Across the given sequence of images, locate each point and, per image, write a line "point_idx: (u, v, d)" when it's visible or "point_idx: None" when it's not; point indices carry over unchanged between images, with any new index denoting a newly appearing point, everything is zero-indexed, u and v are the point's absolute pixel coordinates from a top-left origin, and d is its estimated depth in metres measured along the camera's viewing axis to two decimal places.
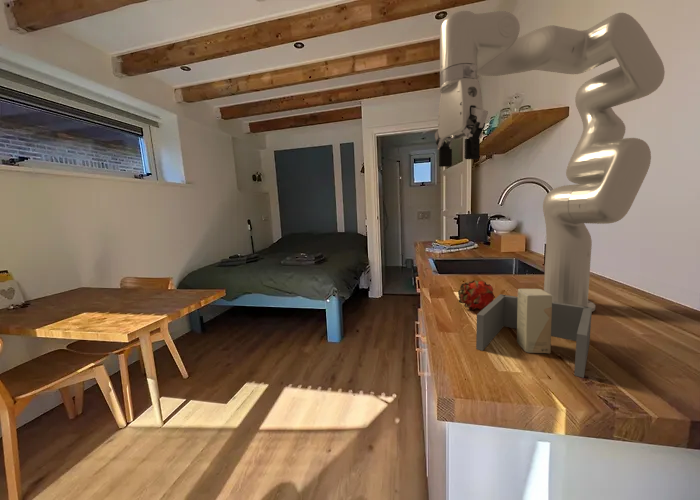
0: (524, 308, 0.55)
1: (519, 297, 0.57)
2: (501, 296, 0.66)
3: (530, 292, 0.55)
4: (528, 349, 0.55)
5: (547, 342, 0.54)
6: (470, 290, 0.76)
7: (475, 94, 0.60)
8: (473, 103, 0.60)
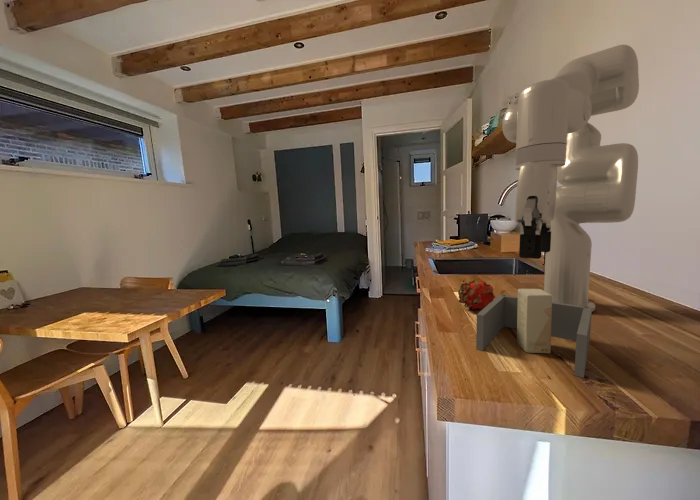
0: (524, 308, 0.55)
1: (519, 297, 0.57)
2: (501, 296, 0.66)
3: (530, 292, 0.55)
4: (528, 349, 0.55)
5: (547, 342, 0.54)
6: (470, 290, 0.76)
7: None
8: None
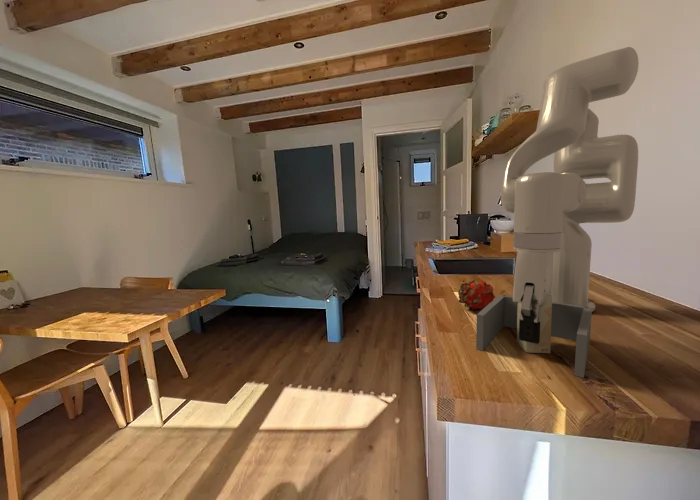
0: None
1: None
2: (501, 296, 0.66)
3: None
4: (528, 349, 0.55)
5: (547, 342, 0.54)
6: (470, 290, 0.76)
7: None
8: None
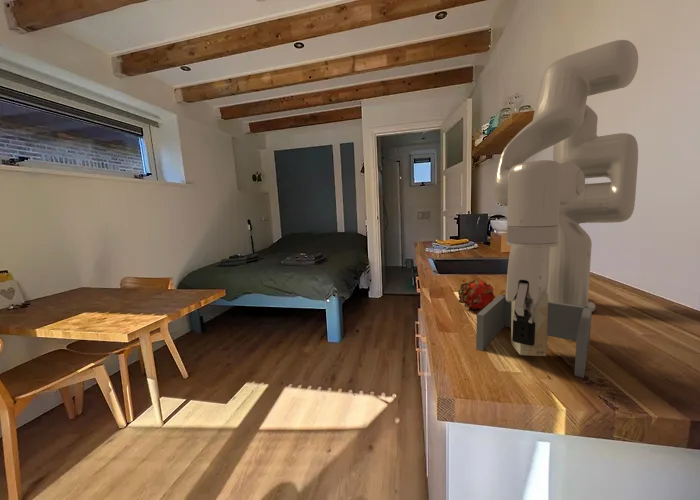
0: None
1: None
2: (501, 296, 0.66)
3: None
4: (522, 351, 0.51)
5: (543, 344, 0.50)
6: (470, 290, 0.76)
7: None
8: None
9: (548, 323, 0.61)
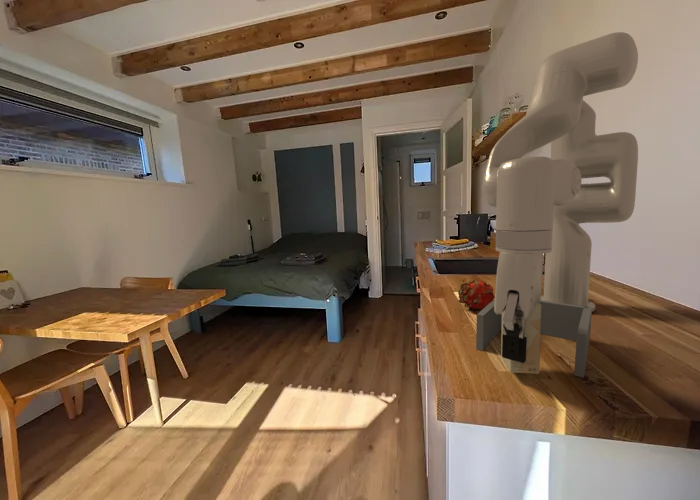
0: None
1: None
2: None
3: None
4: (513, 368, 0.46)
5: (535, 360, 0.45)
6: (470, 290, 0.76)
7: None
8: None
9: (548, 323, 0.61)
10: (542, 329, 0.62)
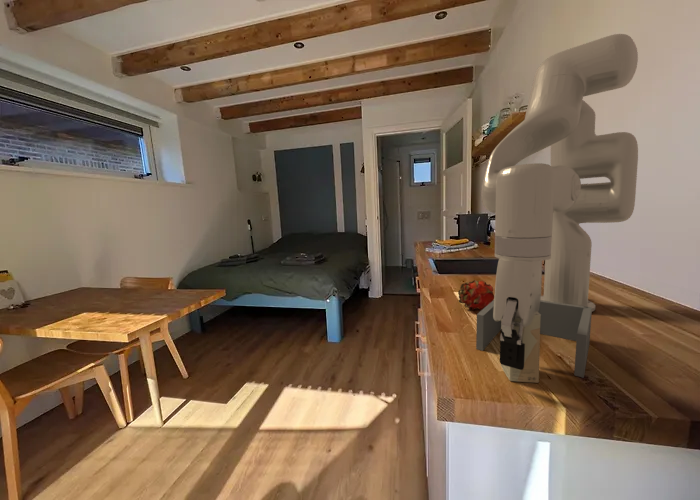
0: None
1: None
2: None
3: None
4: (512, 377, 0.46)
5: (535, 369, 0.45)
6: (470, 290, 0.76)
7: None
8: None
9: (548, 323, 0.61)
10: (542, 329, 0.62)
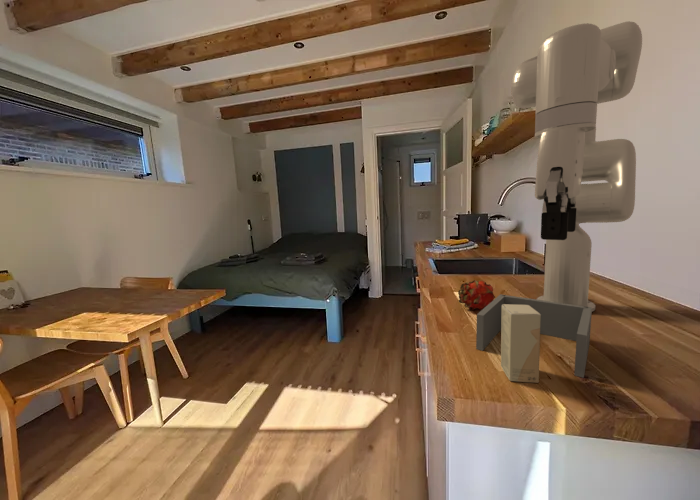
0: (508, 328, 0.46)
1: (503, 314, 0.49)
2: (501, 296, 0.66)
3: (515, 309, 0.47)
4: (512, 377, 0.46)
5: (535, 369, 0.45)
6: (470, 290, 0.76)
7: None
8: None
9: (548, 323, 0.61)
10: (542, 329, 0.62)
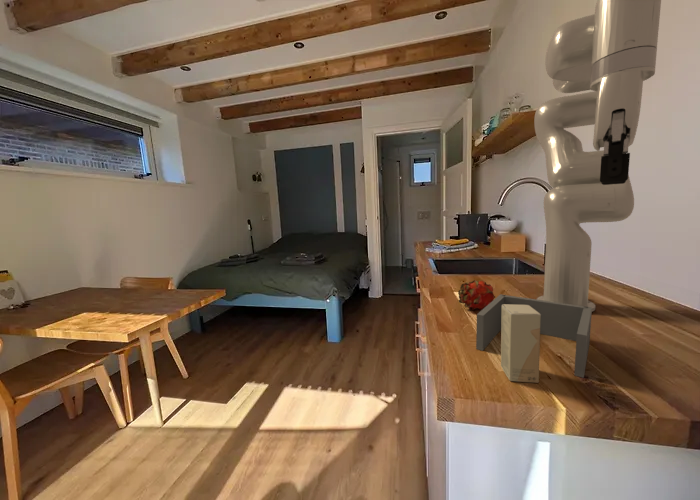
0: (508, 328, 0.46)
1: (503, 314, 0.49)
2: (501, 296, 0.66)
3: (515, 309, 0.47)
4: (512, 377, 0.46)
5: (535, 369, 0.45)
6: (470, 290, 0.76)
7: None
8: None
9: (548, 323, 0.61)
10: (542, 329, 0.62)
